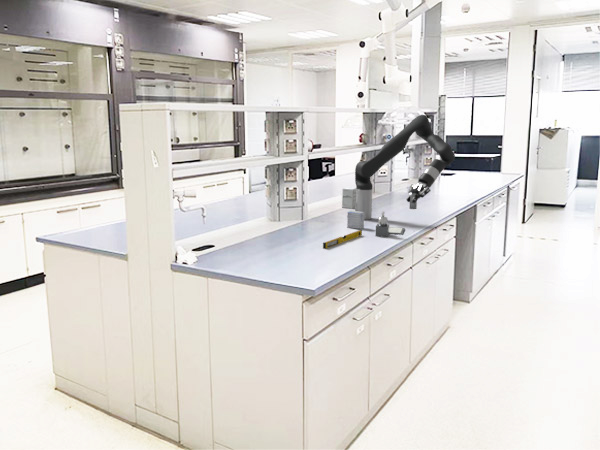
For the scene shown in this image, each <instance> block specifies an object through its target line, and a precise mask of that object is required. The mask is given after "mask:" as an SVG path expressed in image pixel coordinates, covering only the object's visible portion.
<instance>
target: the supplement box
mask: <svg viewBox="0 0 600 450" xmlns="http://www.w3.org/2000/svg"><path fill="white" fill-rule="evenodd" d="M341 196H342V197H341V203H342V204H341V207H342V208H346V209H355V202H356V187H343V188H342V194H341Z"/></svg>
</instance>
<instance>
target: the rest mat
mask: <svg viewBox="0 0 600 450" xmlns="http://www.w3.org/2000/svg"><path fill="white" fill-rule="evenodd" d="M405 229H406V228H405V227H394V226H393V227H392V226H389V235H398V234H402V235H403V234H404V232H405Z"/></svg>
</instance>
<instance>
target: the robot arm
mask: <svg viewBox="0 0 600 450" xmlns="http://www.w3.org/2000/svg"><path fill="white" fill-rule="evenodd" d="M414 133H415V134H416V135H417V136H418V137H420V138H421V139H422V140H424V141H425V142H426V143H427V144H428V145H429V146H430V147H431V148H432V149H433V151H435V152H436V153H437V154H438V155H439V156H440V157H439V158H440V159H438V158H435V159H433V160H432V161H431V163H430V164H429V165H428V166H427V168H425V170H424V171H423V173H422V174H420V176H419V178H418V179H417V180H418V181H417V182H416V183H415V184H411V185H410V186H409V189H411V188H416V189H418V192H417V194H416V195H415V196H414V198H413V199H412V202H413V203H415V202H416V201H418V200H419V199H420V198H422V199H423V198H424V197H425V196H426V195H428V194H429V193H430V192H431V187H432V185H433V184H434V183H435V181H437V179H438V178H439V175H440V174H441V173H442V171H443V170H445V168H447V167H448V166H449V165H450V164H453V162H454V161H455V158H456V154H455V152H454V151H453V149H452V147H451V146H450V144H449V143H447V142H446V141H444V139H443V138H442V137H441V136H439V134H438V135H437V134H435V133H434V132H433V130H432V126H431V123H430V120H429V117H428V116H427V115H426V114H420V115H417V116H416V117H415V118H414V119H411V121H410V122H409V123H408V124H406V126H405V127H404V128H403V129H402V130H400V131H399V132H398V133H397V134H396V135H395V136H393V137H392V138H391V139H389V140H388V141H387V142H386V143H384V144H383V145H382V147H381V148H380V150H379V151H378V153H377V154H376V155H374V157H372V158H371V159H369V160H360V161H359V162H358V163H357V164H356V165H355V170H354V175H355V176H354V178H355V179H354V181H355V186H356V187H355V188H356V202H355V208H354V211H359V212H364V221H365V220H366V221H367V220H371V219H372V217H373V216H372V215H373V214H372V212H373V184H372V181H371V177H373V176H375V174H376V173H377V172H378V171H379V170H380V169H381V168H382V167H383V166H384V165H385V164H387V163H389V162H390V161H391V160H392V159H394V158H395V157H396V156H398V155H399V154H400V153H401V152H403V151H404V149H405V148H406V146H407V144H408V142H409V140H410V138H411V136H412V135H413V134H414ZM407 193H408V194H409V195H408V196H407V198H406V201H407V203H410V191H409V190H408V191H407Z"/></svg>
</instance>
